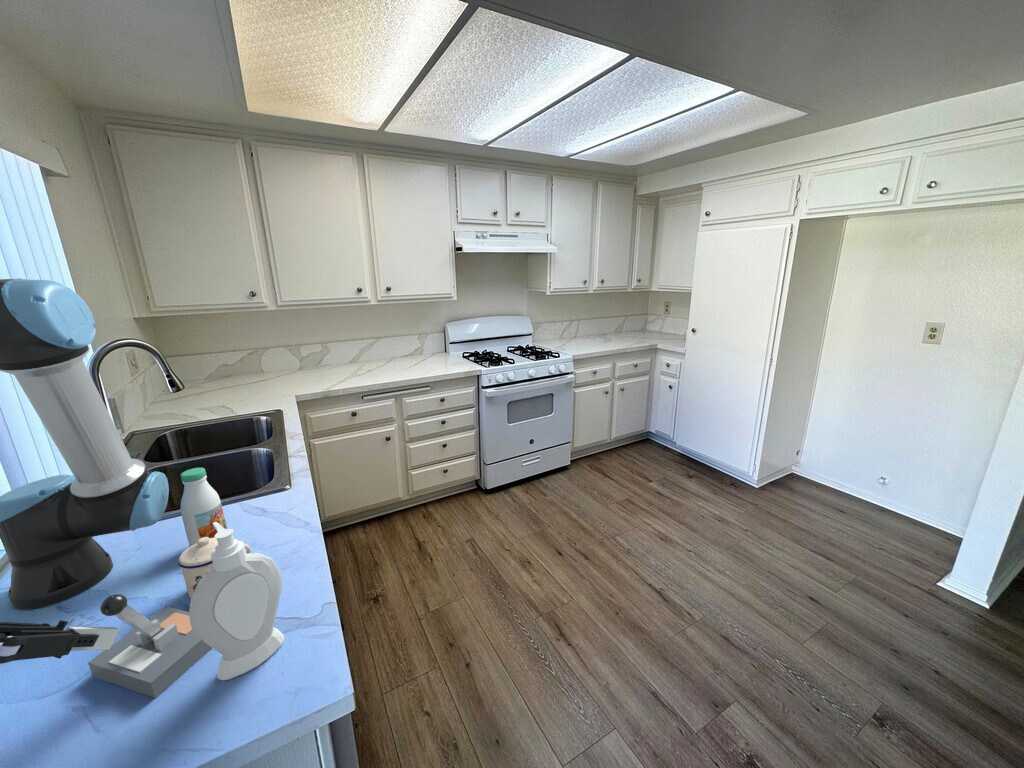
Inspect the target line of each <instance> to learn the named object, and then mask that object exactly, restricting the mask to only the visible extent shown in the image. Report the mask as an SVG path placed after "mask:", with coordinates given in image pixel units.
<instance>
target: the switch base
mask: <svg viewBox="0 0 1024 768" xmlns="http://www.w3.org/2000/svg"><path fill="white" fill-rule="evenodd" d="M147 619H148V620H150V621H151V622H152V623H154V624H155V625H157V626H158V627H159V628H161V629H162V630H163V631H162V632H160V633H159V634H158V635H156V636H155V637H154V638H153V641H154V642H153V641H149V640H147V637H146V636H144V635H143V634H141V633H140V632H138V631H137V630H136V629H134V628H133V629H132V630H131V631H129V632H128V633H127V634H126V635H124V636H123V637H122V638H120V639H118V640H117V641H116V642H114V643H113V644H112V646H111V648H110V649H109V650H102V652H100V653H99V654H98V655H96V656H95V657H93V658H92V659H90V660H89V661H87V665H88V667H89V669H90V672H91V674H92V677H93V678H95V679H97V680H101V681H104V682H107V683H109V682H110V683H109V684H112V683H113V685H115V684H116V685H115V686H118V685H119V687H122V688H125V689H127V688H128V689H127V690H131V691H134V692H137V693H140V694H143V695H144V696H148V697H152V698H154V699H157V697H159V696H160V695H161V694H162V693H163V692H165V691H166V690H167V689H168V688H169V687H170V686H171V685H172V684H174V682H175V681H176V680H178V679H179V678H180V677H181V676H182V675H183V674H185V672H187V671H188V670H189V669H190V668H192V666H193V665H194V664H196V663H197V662H198V661H199V660H200V659H201V658H202V657H203V656H204V655H206V654H207V653H208V652H209V651H210V650H211V649H213V648H212V647H210V646H209V645H207V644H206V643H205V642H204V641H203V640H202V639H201V638H199V637H198V636H197V635H196V633H195V632H194V631H193V629H192V627H191V624H190V617H189V611H187V610H183V609H178V608H175V607H170V606H165V607H163V608H162V609H160V610H159V611H158V612H156V613H155V614H153V615H152V616H150V617H149V618H147Z"/></svg>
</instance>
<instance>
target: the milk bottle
mask: <svg viewBox="0 0 1024 768" xmlns="http://www.w3.org/2000/svg"><path fill="white" fill-rule="evenodd" d="M207 478H208V476H207V472H206V469H205V468H204V467H194V468H191V469H186V470H185V471H183V472H181V473H180V479H181V482H182V484H183V485H184V487H183V494H182V497H181V500H180V513H181V518H182V523H183V526H184V530H185V535H186V539H187V542H188V548H189V547H190V546H192V545H194V544H196V543H197V542H198V540H199V539H201V538H203V537H208V538H209V539H210V538H215V534H216V533H217V530H216V528H215V527H214V526H213V523H214V522H217V523H219V524H220V525H221V526H222V527H223V528H224V529H228V526H227V522H226V521H227V520H226V518H225V513H224V509H223V506H222V501H221V498H220V495H219V494H218V492H217V491H216V490H215V489H214V487H212V486H211V484H209V482H208V481H207Z"/></svg>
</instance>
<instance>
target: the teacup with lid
mask: <svg viewBox="0 0 1024 768" xmlns="http://www.w3.org/2000/svg"><path fill="white" fill-rule="evenodd" d="M216 545H218V542H217V539H216V538H210V539H209V538H208V537H203V538H201V539H199V540H198V542H197V543H196V544H194V545H192V546H190V547H189V546H188V547H187V548H185V550H184V551H182V553H181V554H180V556H179V558H178V561H177V562H178V566H179V567H180V568H181V571H182V575H183V579H184V580H183V581H184V583H185V587H186V590H187V594H188V597H189V599H190V600H191V597H192V595H193V593H194V591H195V589H196V587H197V585H198V583H199V581H200V580H201V579H202V578H203V577H204V576H205V575H206V574H207V573H208V572H209V571H210V570H211V569H212V568H213V567H214V566H213V562H212V558H211V553H212V551H213V550H214V549H215V547H216ZM244 546H245V550H246V554H247V553H252V549H251V546H250V545H249V544H247V543H244Z"/></svg>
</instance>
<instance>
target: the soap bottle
mask: <svg viewBox="0 0 1024 768" xmlns="http://www.w3.org/2000/svg"><path fill="white" fill-rule="evenodd" d="M213 526H214V527H215V528H216V530H217V533H216V534H215V538H216V539H217V542H218V545H216V547H215V549H214V550H213V551H212V553H211V558H212V562H213V566H214V567H213V568H212V569H211V570H210V571H209V572H208V573H207V574H206V575H205V576H204V577H203V578H202V579H201V580H200V581H199V583H198V585H197V587H196V589H195V591H194V593H193V595H192V597H191V599H190V605H189V610H188V612H189V617H190V624H191V627H192V629H193V631H194V632H195V633H196V635H197V636H198V637H199V638H201V639H202V640H203V641H204V642H205V643H206V644H207V645H209V646H210V647H212V648H211V649H214V650H215V651H217V652H218V653H219V654H221V657H220V659H219V664H218V669H217V676H216V677H217V679H218V680H220V681H228V680H231V679H233V678H236V677H238V676H242V675H243V674H245V673H246V674H247V672H249V671H251V670H253V669H254V668H256V667H258V666H260V665H261V664H262V663H264V662H265V661H266V660H267V659H269V658H270V657H271V656H273V654H274V653H275V652H276V651H277V650H279V648H280V647H282V645H283V643H284V642H285V636H284V634H283V633H282V632H281V631H280V629H278V628H276V627H274V625H275V621H276V617H277V613H278V609H279V604H280V599H281V594H282V593H281V592H282V586H283V584H282V583H283V579H282V574H281V571H280V568H279V566H278V565H277V564H276V562H275V560H273V558H272V557H271V556H268V555H265V554H263V553H261V552H253V553H252V552H251V553H247V549H245V546H244V544H245V542H244V541H242V540H238V539H237V538H234V534H233V533H234V529H233V528H227V529H224V528H223V527H222V526H221V525H220V524H219V523H217V522H214V523H213Z"/></svg>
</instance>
